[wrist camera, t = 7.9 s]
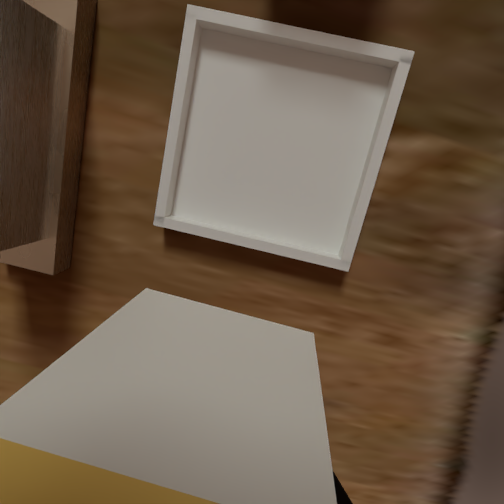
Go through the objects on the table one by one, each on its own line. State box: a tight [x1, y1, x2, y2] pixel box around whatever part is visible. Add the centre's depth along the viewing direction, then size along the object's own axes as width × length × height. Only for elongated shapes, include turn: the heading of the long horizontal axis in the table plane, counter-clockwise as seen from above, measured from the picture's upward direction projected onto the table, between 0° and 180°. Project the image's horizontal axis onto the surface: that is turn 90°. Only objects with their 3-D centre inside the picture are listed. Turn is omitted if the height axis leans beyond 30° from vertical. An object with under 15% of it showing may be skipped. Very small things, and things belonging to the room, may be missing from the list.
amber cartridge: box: [0, 288, 337, 504], centre depth 7 cm, size 4×4×6 cm
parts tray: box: [153, 4, 415, 272], centre depth 17 cm, size 10×10×2 cm
